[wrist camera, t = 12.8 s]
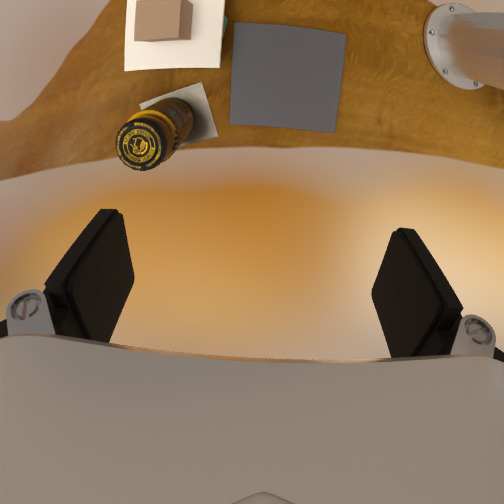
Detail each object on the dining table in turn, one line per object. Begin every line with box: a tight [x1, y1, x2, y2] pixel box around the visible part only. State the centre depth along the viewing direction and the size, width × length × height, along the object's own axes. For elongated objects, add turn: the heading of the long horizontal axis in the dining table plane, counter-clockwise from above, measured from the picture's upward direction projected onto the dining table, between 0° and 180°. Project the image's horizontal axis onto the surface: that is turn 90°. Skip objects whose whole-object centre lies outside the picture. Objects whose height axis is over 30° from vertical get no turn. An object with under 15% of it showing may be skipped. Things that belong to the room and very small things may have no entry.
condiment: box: [116, 82, 218, 171], centre depth 31 cm, size 7×8×12 cm
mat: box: [229, 22, 347, 133], centre depth 33 cm, size 13×13×1 cm
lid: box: [125, 0, 225, 71], centre depth 22 cm, size 10×10×6 cm
